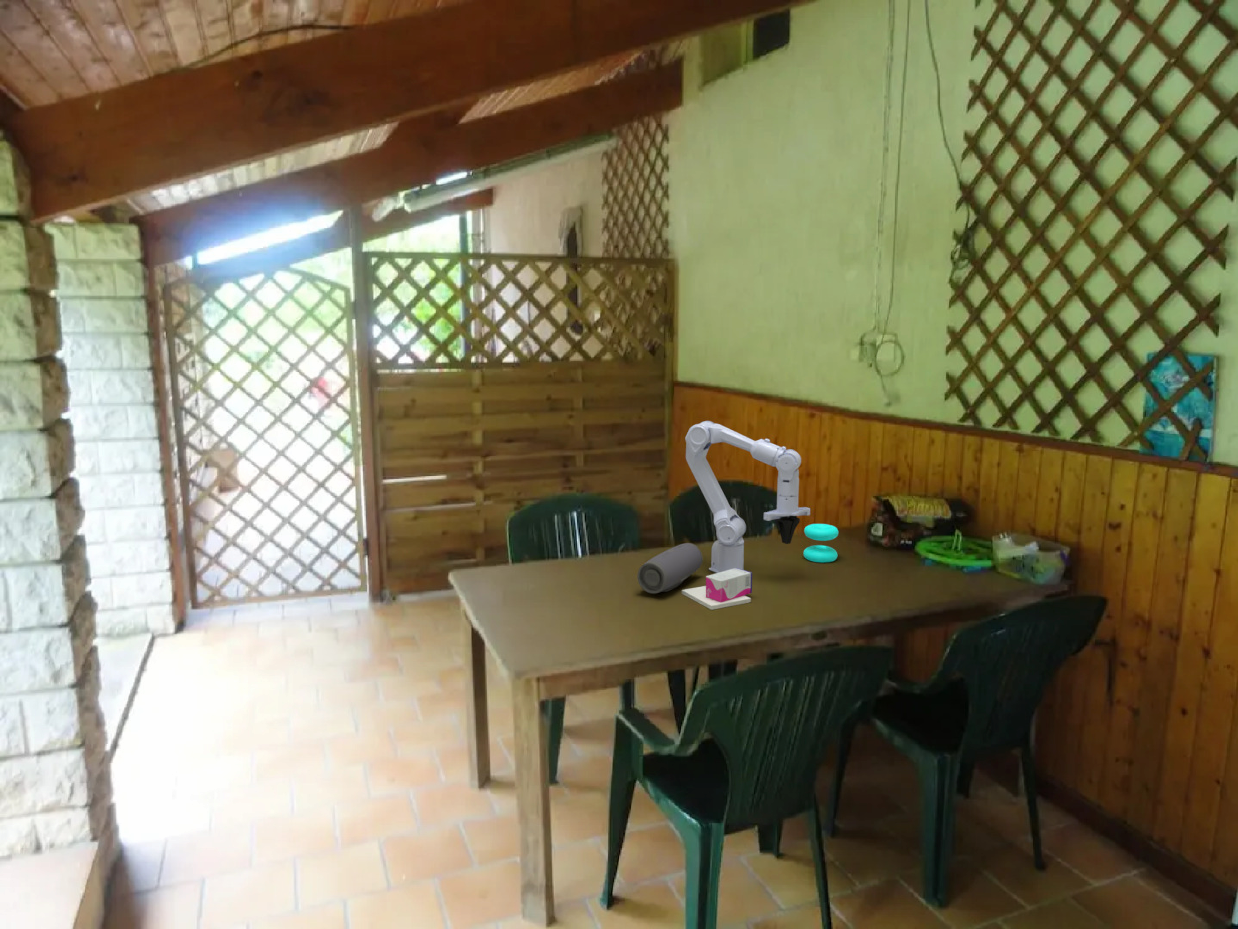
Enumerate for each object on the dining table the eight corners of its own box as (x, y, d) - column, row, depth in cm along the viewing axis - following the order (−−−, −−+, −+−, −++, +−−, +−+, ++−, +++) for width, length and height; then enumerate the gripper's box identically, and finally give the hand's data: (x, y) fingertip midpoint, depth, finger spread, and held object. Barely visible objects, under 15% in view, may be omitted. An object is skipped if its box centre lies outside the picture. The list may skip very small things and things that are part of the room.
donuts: (845, 528, 244) (818, 532, 240) (844, 561, 246) (817, 565, 242) (824, 521, 253) (797, 524, 249) (822, 552, 255) (796, 556, 251)
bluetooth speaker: (674, 572, 236) (674, 538, 234) (704, 577, 231) (704, 543, 229) (635, 595, 216) (635, 558, 215) (666, 601, 212) (666, 563, 210)
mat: (681, 593, 217) (681, 590, 217) (719, 586, 223) (719, 583, 222) (711, 609, 205) (711, 606, 205) (750, 602, 210) (750, 598, 210)
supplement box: (735, 567, 217) (705, 575, 210) (752, 572, 213) (722, 580, 206) (735, 588, 218) (704, 597, 211) (752, 593, 214) (721, 603, 207)
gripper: (775, 500, 218) (774, 549, 220) (818, 494, 225) (816, 543, 227) (759, 495, 224) (758, 543, 226) (801, 490, 231) (799, 537, 233)
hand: (786, 543), depth 227 cm, fingers closed
